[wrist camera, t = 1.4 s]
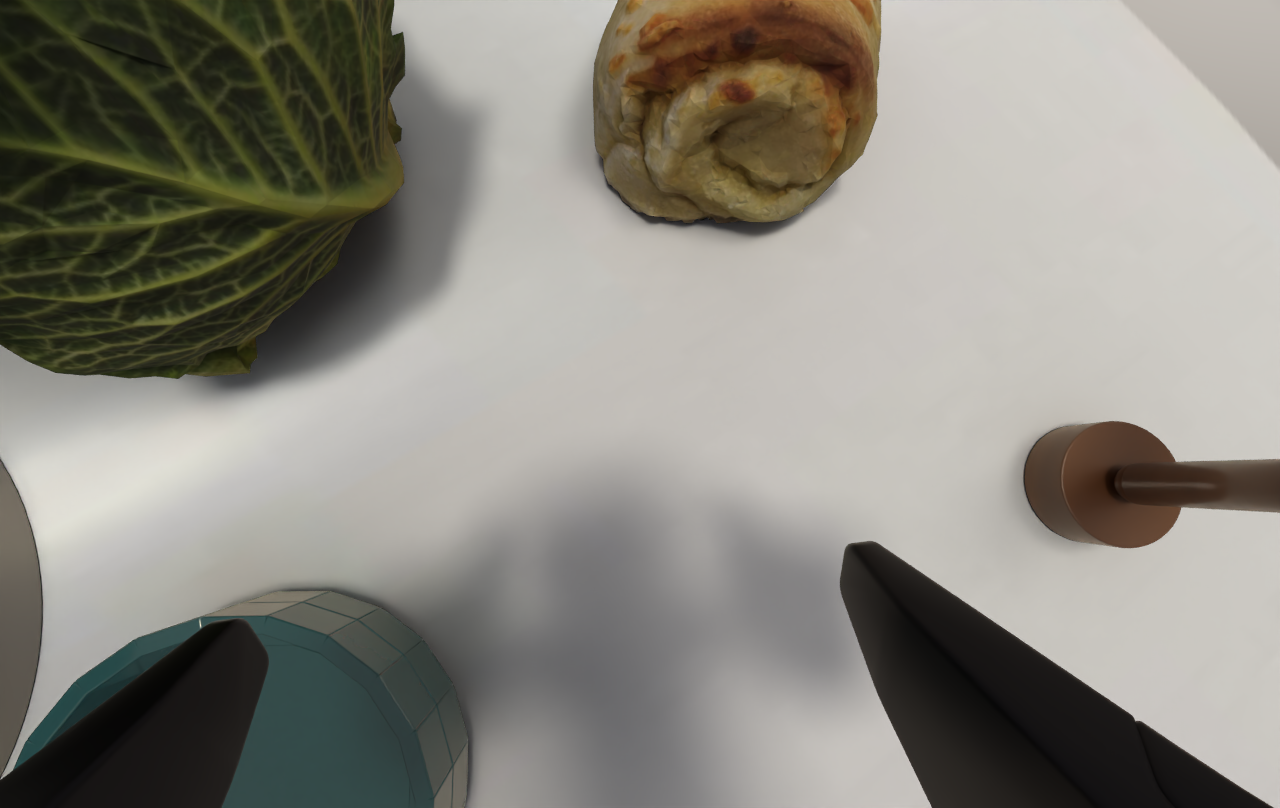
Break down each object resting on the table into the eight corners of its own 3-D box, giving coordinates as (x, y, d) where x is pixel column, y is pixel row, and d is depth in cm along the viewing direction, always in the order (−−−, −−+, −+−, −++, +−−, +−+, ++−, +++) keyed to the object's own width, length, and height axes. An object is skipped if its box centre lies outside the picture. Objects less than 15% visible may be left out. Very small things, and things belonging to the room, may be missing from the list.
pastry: (654, 287, 24) (670, 192, 16) (541, 53, 25) (503, -140, 17) (927, 167, 25) (1067, 23, 17) (805, -50, 27) (883, -275, 19)
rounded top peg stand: (1156, 469, 24) (1869, 460, 10) (1102, 566, 23) (1786, 693, 9) (1058, 403, 24) (1626, 307, 10) (1002, 497, 23) (1529, 524, 10)
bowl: (540, 718, 21) (518, 781, 17) (322, 1035, 20) (234, 1198, 15) (281, 521, 22) (195, 533, 18) (49, 812, 20) (-112, 906, 16)
